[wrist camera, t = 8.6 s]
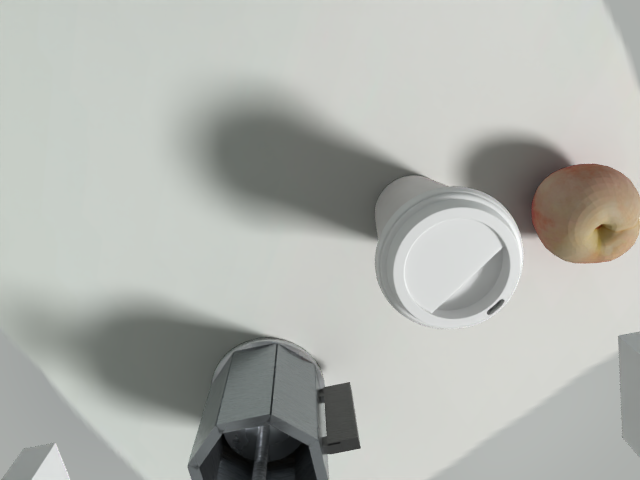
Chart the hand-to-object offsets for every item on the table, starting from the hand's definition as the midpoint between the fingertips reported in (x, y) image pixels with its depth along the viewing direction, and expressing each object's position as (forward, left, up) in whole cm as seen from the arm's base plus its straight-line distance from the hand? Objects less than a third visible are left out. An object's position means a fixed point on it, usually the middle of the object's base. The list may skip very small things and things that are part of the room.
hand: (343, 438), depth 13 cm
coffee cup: (+5, +8, -36) cm, 37 cm away
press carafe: (+19, -7, -36) cm, 41 cm away
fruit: (+7, +21, -36) cm, 42 cm away
